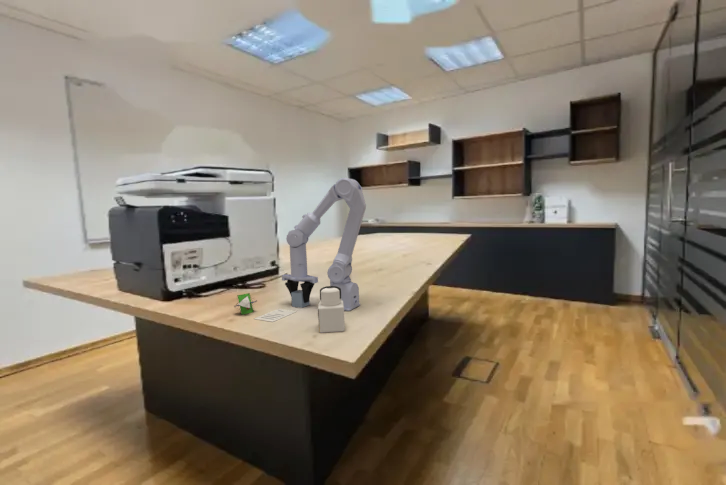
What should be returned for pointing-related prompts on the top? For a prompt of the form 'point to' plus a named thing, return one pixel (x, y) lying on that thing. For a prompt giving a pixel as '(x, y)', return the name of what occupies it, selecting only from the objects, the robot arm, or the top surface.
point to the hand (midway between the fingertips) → (300, 301)
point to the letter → (275, 315)
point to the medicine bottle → (331, 310)
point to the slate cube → (298, 299)
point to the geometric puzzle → (245, 303)
